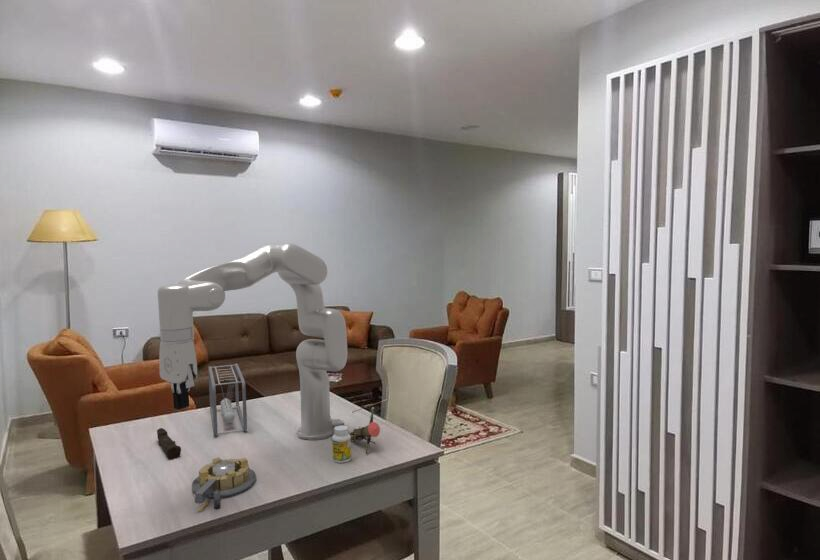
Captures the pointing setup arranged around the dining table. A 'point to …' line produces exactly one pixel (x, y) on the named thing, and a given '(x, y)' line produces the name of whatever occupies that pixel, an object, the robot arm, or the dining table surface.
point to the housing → (217, 495)
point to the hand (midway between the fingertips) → (181, 407)
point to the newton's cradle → (226, 403)
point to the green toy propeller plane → (366, 431)
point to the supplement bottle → (341, 444)
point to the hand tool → (168, 444)
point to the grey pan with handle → (221, 478)
